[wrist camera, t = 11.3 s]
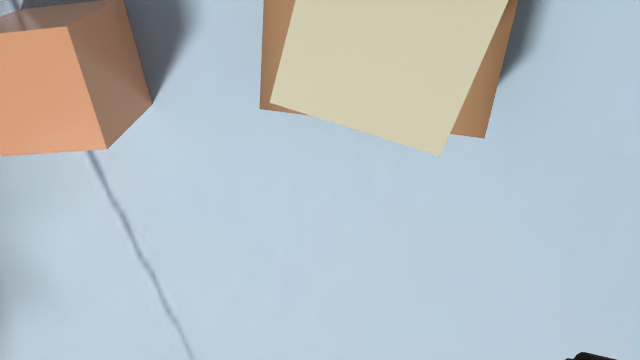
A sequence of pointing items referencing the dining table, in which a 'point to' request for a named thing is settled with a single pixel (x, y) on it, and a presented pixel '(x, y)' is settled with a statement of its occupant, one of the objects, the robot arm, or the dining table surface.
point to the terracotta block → (68, 78)
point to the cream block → (385, 64)
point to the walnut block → (476, 102)
